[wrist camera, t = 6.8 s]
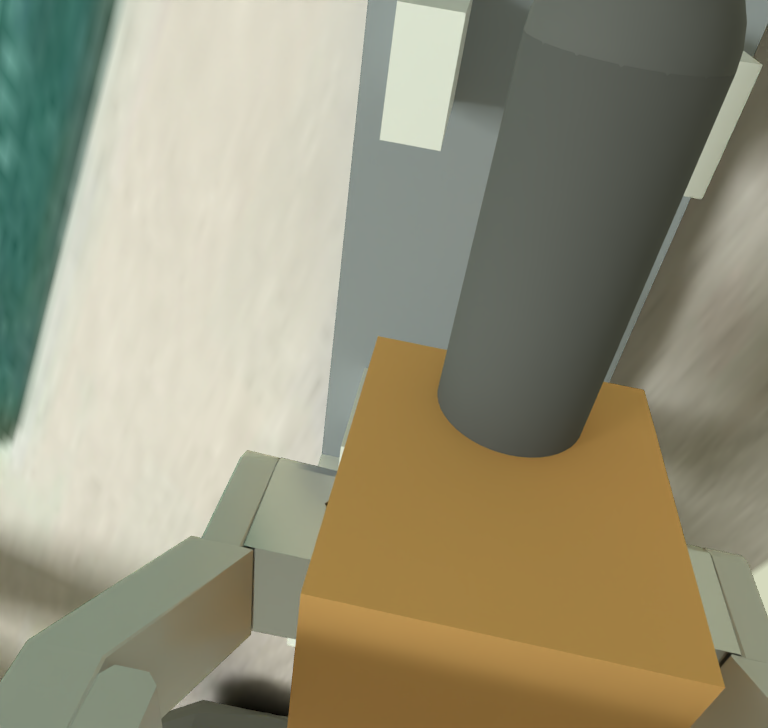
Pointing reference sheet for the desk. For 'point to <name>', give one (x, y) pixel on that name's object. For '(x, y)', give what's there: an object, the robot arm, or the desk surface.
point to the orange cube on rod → (532, 422)
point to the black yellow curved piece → (220, 717)
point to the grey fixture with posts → (444, 176)
